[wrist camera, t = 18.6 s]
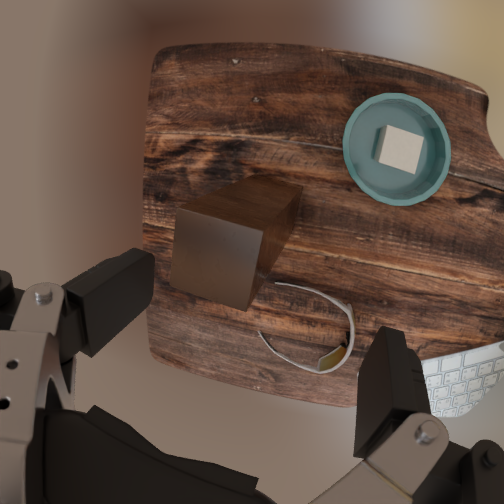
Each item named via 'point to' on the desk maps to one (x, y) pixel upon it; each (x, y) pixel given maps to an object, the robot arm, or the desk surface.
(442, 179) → the bowl
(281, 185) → the block
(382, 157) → the block
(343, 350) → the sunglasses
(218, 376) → the desk surface
